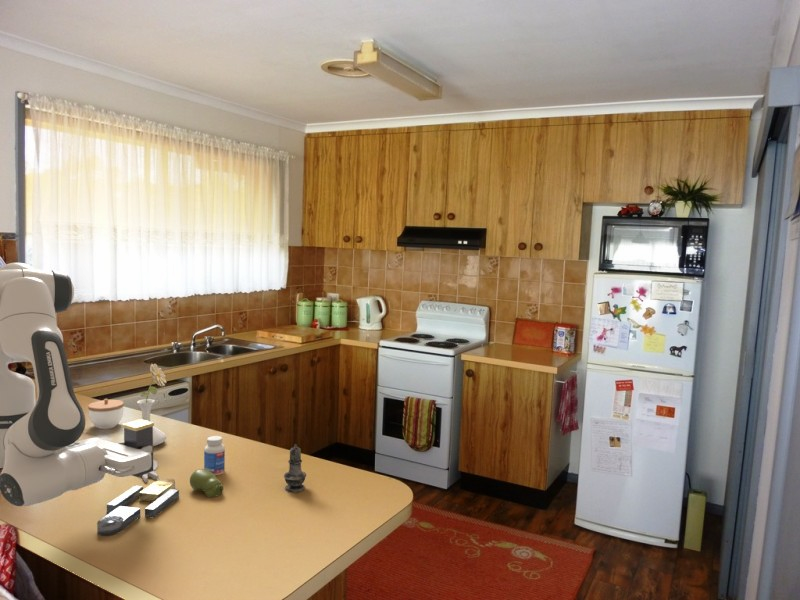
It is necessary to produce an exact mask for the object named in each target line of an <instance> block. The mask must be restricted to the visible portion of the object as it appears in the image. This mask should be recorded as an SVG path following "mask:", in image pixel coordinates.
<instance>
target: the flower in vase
mask: <svg viewBox="0 0 800 600" xmlns="http://www.w3.org/2000/svg"><path fill="white" fill-rule="evenodd" d="M149 370H150V371H149V372H150V375H151V377H152V380H151V382H150V383H149V386H148V391H147V392H145V391H142V393H141V395H140V396H141V397H146V398H145V399H140V400H137V402H136V403H137V404H138V405H139V407H140V410H141V419H142V420H146V421H150V422H152V421H151V411H152V410H151V409H152V407H153V404H154V403H155V401H156V400H155V399H151V398H149V396H151V394H152V395H156V394H157V393H158V389H157V387H155V386H152V384H153V382H155V383H156V384H157V385H158V386H159V387H166V384H167V380H166V375H165V373H164V372H163V371H162V368H161V367H158V365H157V363H154V364H153V363H151V364H150V367H149ZM166 439H167V436H166V434H165V433H164V432H163V431H162V430H160V429H159V428H157V427H156V426H155V425H154V426H153V447H156V446H158V445H161V444H162V443H164V442H165V441H166Z"/></svg>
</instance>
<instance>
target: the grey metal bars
mask: <svg viewBox="0 0 800 600" xmlns="http://www.w3.org/2000/svg"><path fill="white" fill-rule="evenodd" d="M142 490H144V485H134V486H132V487H130V488H129V489H127V490H126V491H125V492H122V494H120V495H118V496H117V497H115V498H114V499H112V500H111V501H110V502H108V503H107V504H106V515H105V516H104V517H102V518H100V519H99V520H98V521H97V523H96V524H97V526H96V527H97V534H98V535H99V536H103V537H105V536H114V535H117V534H119V533H121V532H122V531H124V530H125V529H126V528H127V527H129V526H130V525H131V524H133V523H134V522H135V521H137V520H138V519H139V518H141V508H140V507H132V506H128V505H130V504H131V503H132V502H134V501H136V500H137V499H138V498H139V492H141V491H142ZM179 498H180V489H176V488H175V489H170V490H169V491H168V492H166V493H165V494H164V495H162V496H161V497H160V498H158V499H157V500H156V501H154V502H151V503H150V504H149V505H148V506H147V507H144V517H145V518H149V517H153V519H155V516H156V515H157V516H158V515H160V512H161V511H162V512H163V511H164V510H166V509H167V508H168V507H169V506H171V505H172V504H173V503H174V502H175V501H176V500H178V499H179ZM162 512H161V513H162ZM157 516H156V517H157ZM137 518H138V519H137Z"/></svg>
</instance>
